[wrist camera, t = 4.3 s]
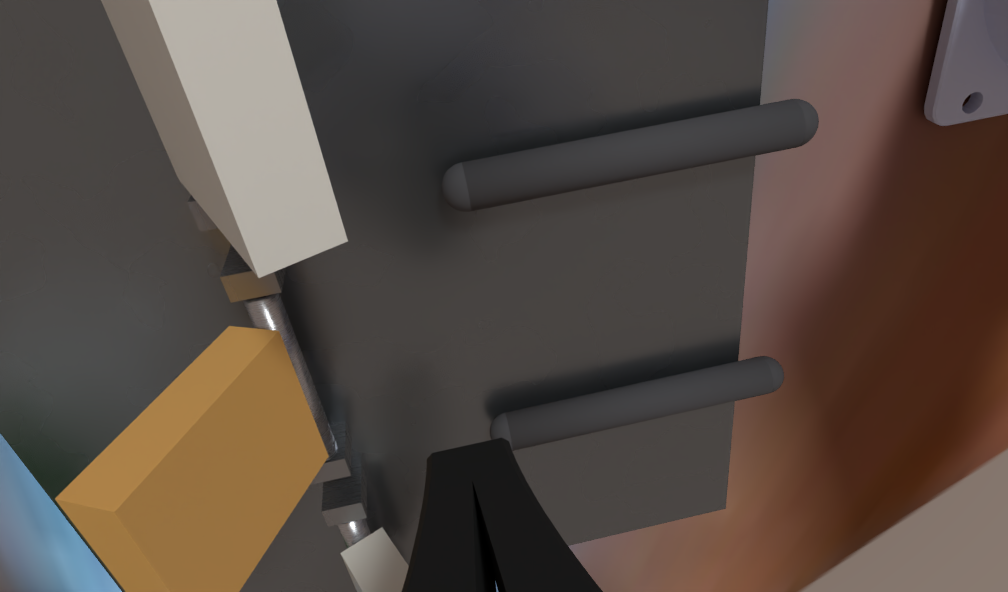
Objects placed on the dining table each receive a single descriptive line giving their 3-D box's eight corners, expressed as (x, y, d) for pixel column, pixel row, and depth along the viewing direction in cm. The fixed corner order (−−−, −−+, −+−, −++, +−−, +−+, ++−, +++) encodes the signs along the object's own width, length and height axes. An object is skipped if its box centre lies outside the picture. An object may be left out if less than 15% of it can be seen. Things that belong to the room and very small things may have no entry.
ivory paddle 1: (164, -74, 10) (254, -72, 7) (247, 155, 12) (348, 241, 9) (76, -58, 9) (130, -47, 6) (178, 178, 11) (258, 278, 8)
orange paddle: (278, 330, 13) (114, 511, 10) (328, 456, 15) (205, 642, 12) (229, 326, 14) (54, 499, 10) (284, 448, 16) (152, 627, 12)
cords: (804, 89, 14) (831, 103, 14) (770, 373, 19) (789, 396, 18) (434, 159, 14) (439, 178, 13) (489, 435, 18) (495, 463, 17)
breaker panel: (747, -254, 12) (839, -279, 10) (705, 483, 23) (743, 553, 21) (-314, -94, 11) (-499, -80, 9) (178, 605, 22) (156, 695, 20)
